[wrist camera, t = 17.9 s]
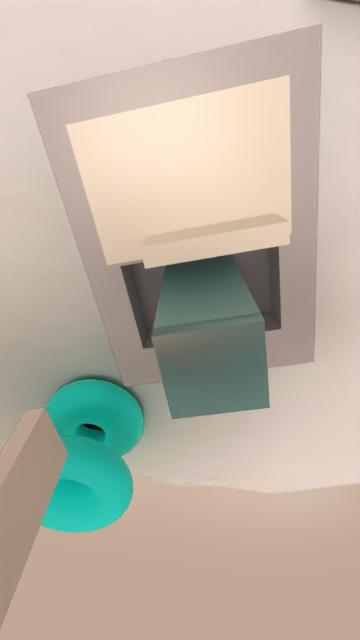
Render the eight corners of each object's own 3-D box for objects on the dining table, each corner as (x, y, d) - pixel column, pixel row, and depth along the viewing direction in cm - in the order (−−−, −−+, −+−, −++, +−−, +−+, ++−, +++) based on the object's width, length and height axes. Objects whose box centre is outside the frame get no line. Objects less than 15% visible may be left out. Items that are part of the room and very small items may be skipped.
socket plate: (131, 363, 29) (124, 386, 26) (51, 104, 20) (27, 93, 17) (299, 339, 28) (313, 361, 25) (299, 47, 18) (322, 23, 15)
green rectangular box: (166, 261, 24) (151, 337, 14) (229, 250, 24) (264, 320, 13) (178, 316, 26) (172, 419, 16) (235, 307, 26) (269, 407, 15)
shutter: (110, 261, 21) (95, 280, 17) (71, 126, 17) (42, 117, 14) (286, 230, 20) (308, 244, 16) (284, 79, 16) (311, 55, 13)
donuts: (-24, 503, 24) (44, 439, 20) (33, 411, 33) (87, 355, 29) (81, 553, 27) (156, 504, 23) (107, 455, 36) (164, 410, 32)
